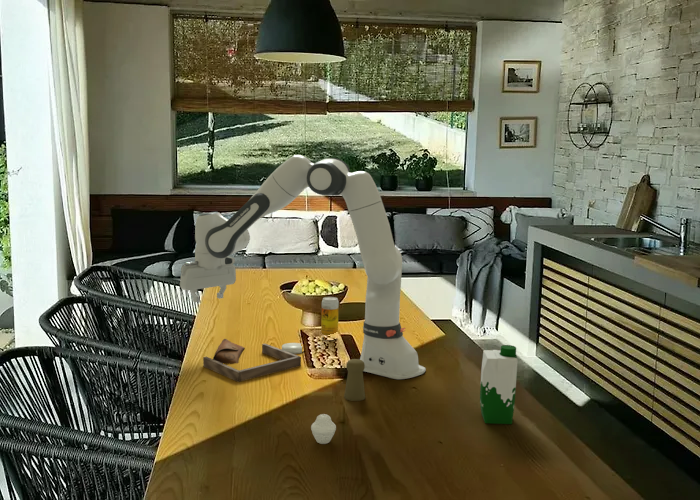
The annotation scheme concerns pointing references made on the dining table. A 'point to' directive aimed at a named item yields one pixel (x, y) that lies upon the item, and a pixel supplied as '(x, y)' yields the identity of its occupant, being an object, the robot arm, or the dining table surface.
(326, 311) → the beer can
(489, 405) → the milk carton
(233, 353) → the sunglasses case
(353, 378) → the pepper mill
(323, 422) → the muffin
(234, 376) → the open wooden frame
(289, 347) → the ring dish
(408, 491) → the dining table surface
